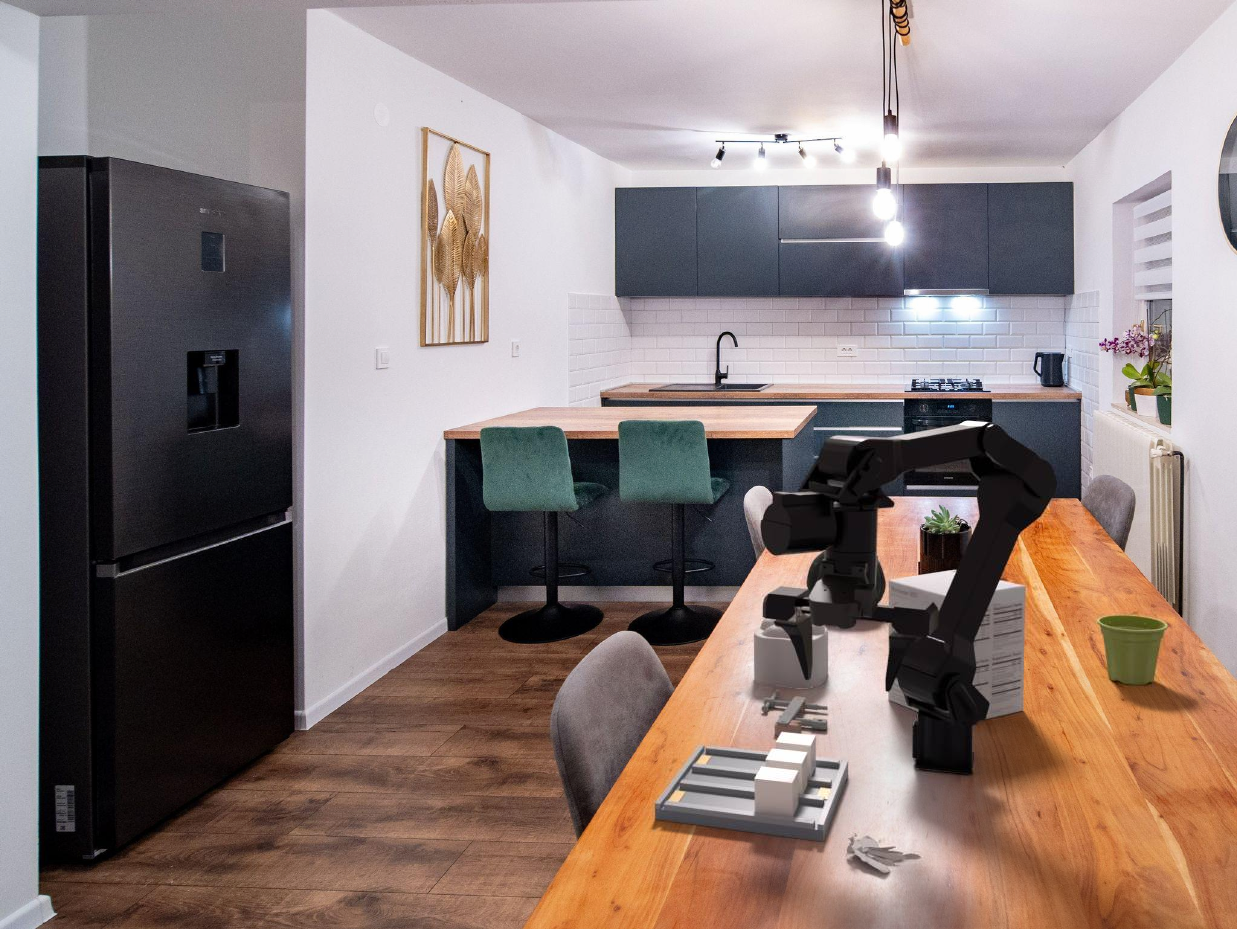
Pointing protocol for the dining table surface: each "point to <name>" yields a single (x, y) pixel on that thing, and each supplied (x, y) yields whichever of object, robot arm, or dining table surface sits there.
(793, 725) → the clamp
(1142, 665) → the plant pot
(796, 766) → the beige block
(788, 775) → the beige block
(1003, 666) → the supplement box
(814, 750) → the white block
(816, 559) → the squash
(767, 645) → the lumpy-topped squat cylinder
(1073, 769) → the dining table surface
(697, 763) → the grey tray
